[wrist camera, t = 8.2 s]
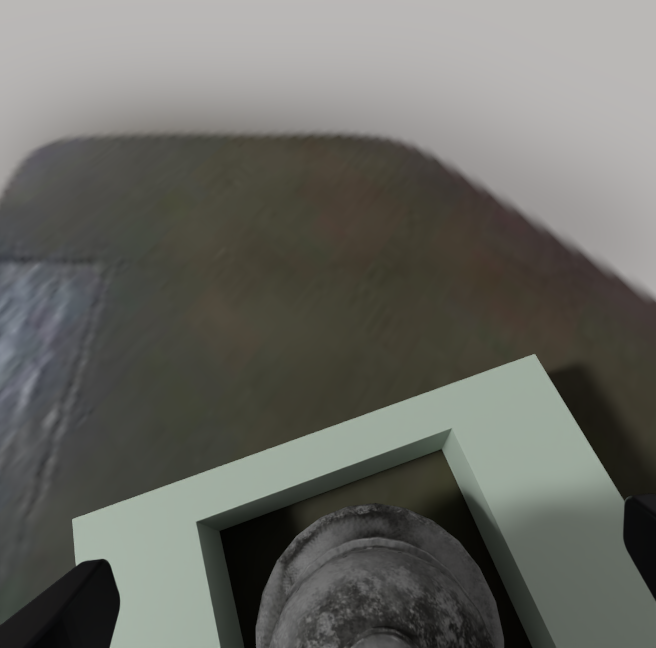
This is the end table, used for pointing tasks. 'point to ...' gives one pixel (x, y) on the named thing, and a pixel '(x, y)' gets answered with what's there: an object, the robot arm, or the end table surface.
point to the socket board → (375, 456)
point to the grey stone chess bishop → (377, 586)
